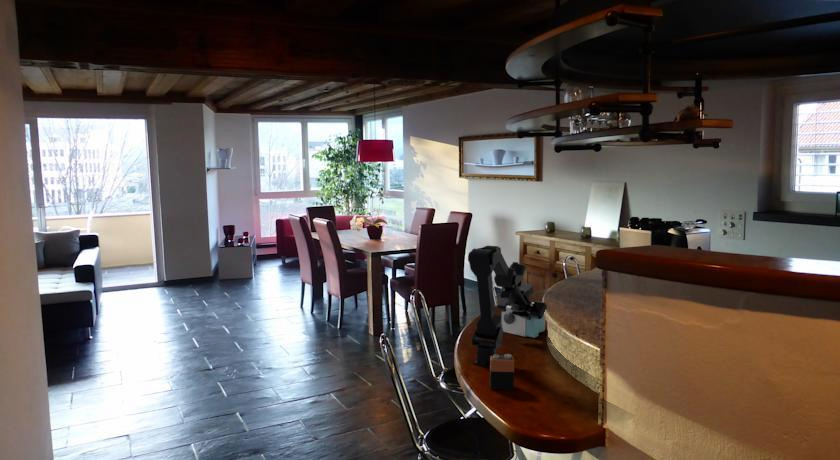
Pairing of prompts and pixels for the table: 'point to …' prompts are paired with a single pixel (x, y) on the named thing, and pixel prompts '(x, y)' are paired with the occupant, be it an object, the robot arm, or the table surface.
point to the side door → (534, 326)
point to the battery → (502, 372)
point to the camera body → (513, 323)
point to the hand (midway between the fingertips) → (529, 319)
